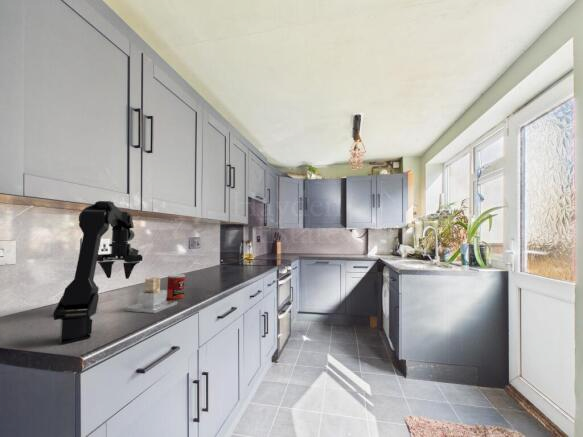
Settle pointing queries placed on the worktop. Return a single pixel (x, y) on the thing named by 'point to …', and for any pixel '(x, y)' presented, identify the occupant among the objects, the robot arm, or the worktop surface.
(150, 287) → the rail end
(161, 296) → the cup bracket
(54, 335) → the worktop surface
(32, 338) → the worktop surface
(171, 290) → the canned food
